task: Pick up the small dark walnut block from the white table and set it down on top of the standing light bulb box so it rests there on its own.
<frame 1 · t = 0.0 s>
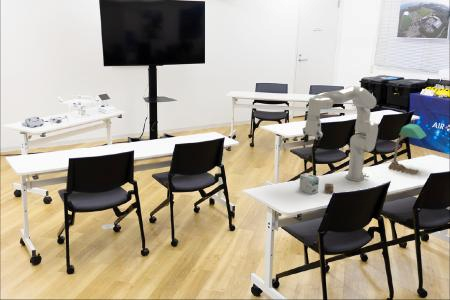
hand: (311, 143, 287), 31 cm above the table, tool pointing down, fingers open, 9 cm apart
walnut block: (328, 192, 292), on the table
light bulb box: (308, 191, 293), on the table
banker's lamp: (403, 170, 339), on the table
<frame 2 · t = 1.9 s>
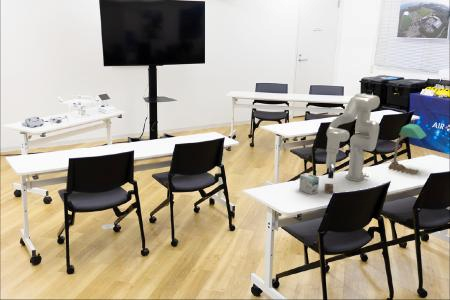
hand: (329, 175, 288), 11 cm above the table, tool pointing down, fingers open, 9 cm apart
nothing on the table moved.
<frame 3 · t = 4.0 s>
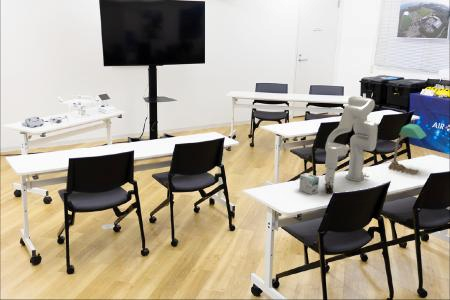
hand: (328, 191, 292), 0 cm above the table, tool pointing down, fingers closed on walnut block, 4 cm apart
walnut block: (328, 192, 292), on the table, touching gripper
everything else where it was.
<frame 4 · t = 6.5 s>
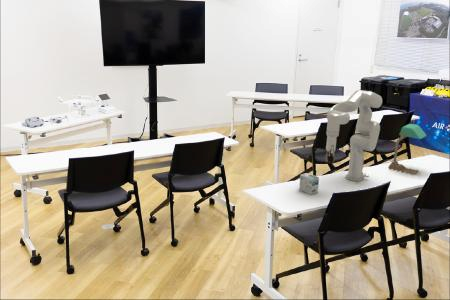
hand: (329, 160, 286), 22 cm above the table, tool pointing down, fingers closed on walnut block, 4 cm apart
walnut block: (329, 161, 286), point 21 cm above the table, touching gripper
everything else where it was.
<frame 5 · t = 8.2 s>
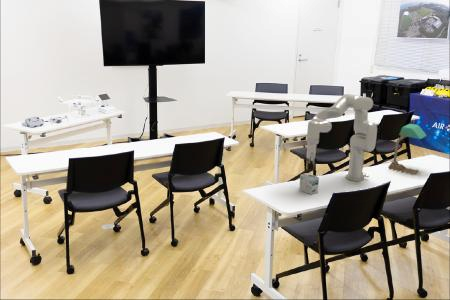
hand: (310, 167, 288), 16 cm above the table, tool pointing down, fingers closed on walnut block, 4 cm apart
walnut block: (310, 168, 288), point 16 cm above the table, touching gripper
everything else where it was.
when the fingers open (13 cm above the table, at t = 9.5 s): walnut block drops 2 cm, resting on light bulb box.
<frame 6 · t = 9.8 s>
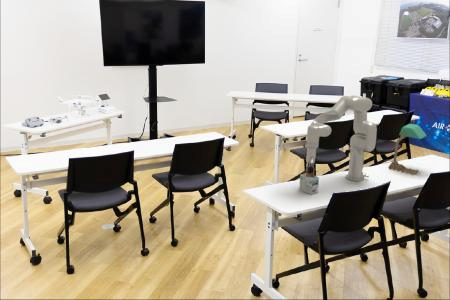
hand: (310, 170, 289), 14 cm above the table, tool pointing down, fingers open, 8 cm apart
walnut block: (309, 175, 289), point 11 cm above the table, touching light bulb box
light bulb box: (308, 191, 293), on the table, touching walnut block
everything else where it was.
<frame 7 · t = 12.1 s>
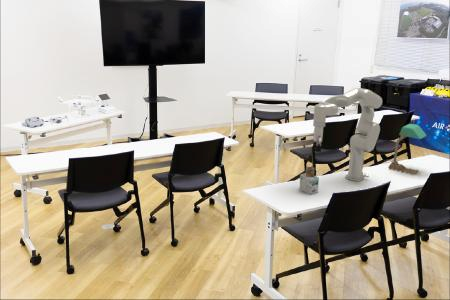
hand: (317, 149, 292), 26 cm above the table, tool pointing down, fingers open, 9 cm apart
nothing on the table moved.
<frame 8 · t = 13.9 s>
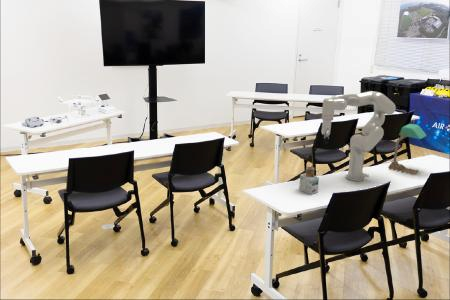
hand: (325, 142, 302), 28 cm above the table, tool pointing down, fingers open, 9 cm apart
nothing on the table moved.
at the end: walnut block inside the target area on the light bulb box (0.0 cm from its centre), point 11.0 cm above the light bulb box's base; walnut block tilted 0°; the gripper is holding nothing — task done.
